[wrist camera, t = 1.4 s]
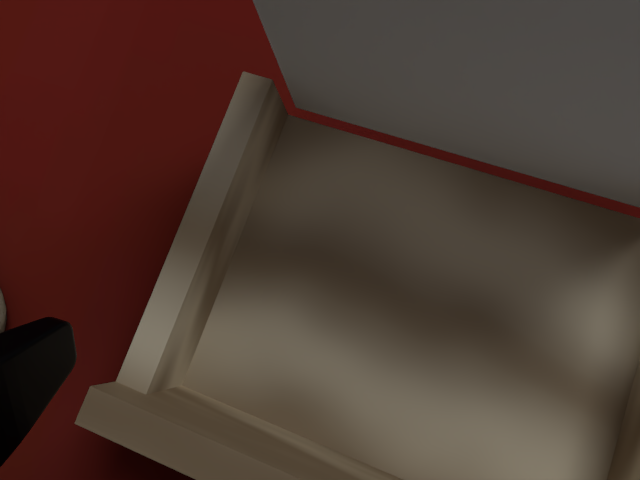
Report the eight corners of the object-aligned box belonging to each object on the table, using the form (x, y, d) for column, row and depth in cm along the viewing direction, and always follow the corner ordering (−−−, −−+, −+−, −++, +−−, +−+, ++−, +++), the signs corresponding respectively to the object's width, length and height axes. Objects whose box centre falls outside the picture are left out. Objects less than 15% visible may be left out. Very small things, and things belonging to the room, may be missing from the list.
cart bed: (589, 580, 18) (696, 711, 12) (165, 397, 22) (74, 423, 15) (678, 248, 20) (812, 209, 14) (273, 126, 23) (230, 49, 17)
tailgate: (672, 217, 18) (1341, -55, 5) (295, 107, 21) (154, -243, 8) (685, 172, 18) (1354, -190, 6) (310, 69, 21) (195, -327, 8)
